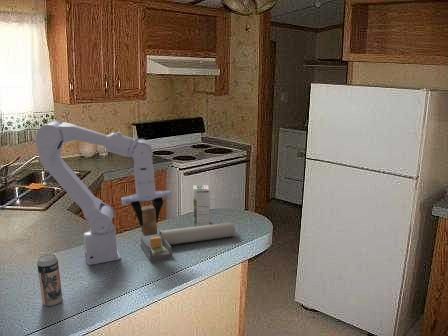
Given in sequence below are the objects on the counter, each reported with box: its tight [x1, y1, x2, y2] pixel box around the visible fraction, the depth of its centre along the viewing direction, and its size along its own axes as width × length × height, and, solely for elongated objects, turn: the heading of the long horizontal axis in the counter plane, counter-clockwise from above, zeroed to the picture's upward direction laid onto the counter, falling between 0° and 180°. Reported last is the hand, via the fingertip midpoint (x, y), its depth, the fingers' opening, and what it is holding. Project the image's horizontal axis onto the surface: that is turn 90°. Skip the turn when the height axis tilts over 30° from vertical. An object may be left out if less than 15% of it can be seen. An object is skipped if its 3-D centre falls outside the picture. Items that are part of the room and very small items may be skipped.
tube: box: [159, 221, 236, 246], centre depth 140 cm, size 5×5×25 cm
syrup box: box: [192, 184, 211, 227], centre depth 152 cm, size 6×6×14 cm
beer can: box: [36, 253, 64, 307], centre depth 105 cm, size 5×5×12 cm
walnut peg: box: [140, 204, 158, 237], centre depth 129 cm, size 4×4×8 cm
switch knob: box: [149, 235, 161, 248], centre depth 132 cm, size 2×3×3 cm, turn 114°
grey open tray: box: [140, 232, 174, 263], centre depth 132 cm, size 12×7×4 cm, turn 24°
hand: (148, 223), depth 130 cm, fingers closed on walnut peg, 4 cm apart
